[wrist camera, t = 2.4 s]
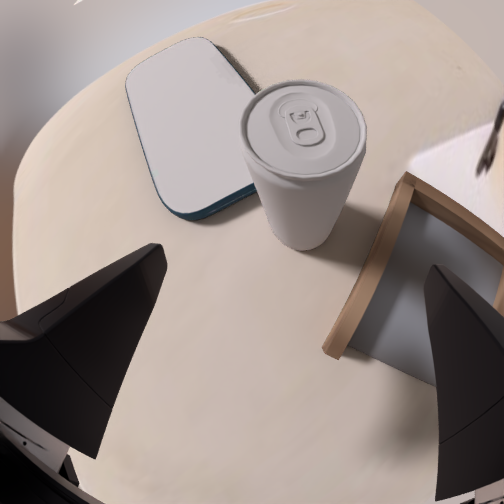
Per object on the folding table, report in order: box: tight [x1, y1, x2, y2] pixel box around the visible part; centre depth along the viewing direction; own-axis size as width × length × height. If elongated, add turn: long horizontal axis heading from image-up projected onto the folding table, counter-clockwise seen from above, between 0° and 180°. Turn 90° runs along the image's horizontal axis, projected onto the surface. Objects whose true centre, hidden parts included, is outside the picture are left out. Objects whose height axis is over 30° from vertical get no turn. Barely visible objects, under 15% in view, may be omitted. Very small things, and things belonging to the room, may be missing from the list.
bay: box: [322, 171, 504, 387], centre depth 16 cm, size 14×14×2 cm
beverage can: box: [239, 79, 367, 251], centre depth 14 cm, size 5×5×12 cm
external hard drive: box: [125, 37, 257, 220], centre depth 24 cm, size 24×12×2 cm, turn 26°
